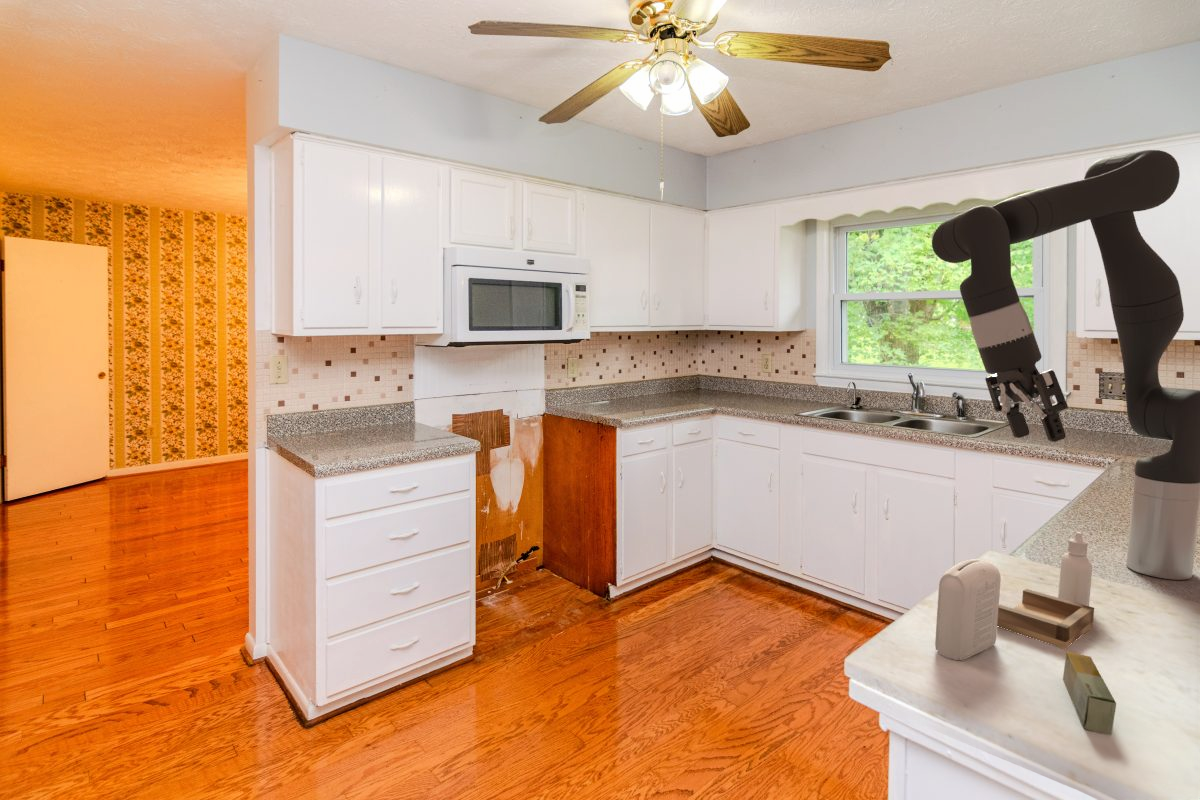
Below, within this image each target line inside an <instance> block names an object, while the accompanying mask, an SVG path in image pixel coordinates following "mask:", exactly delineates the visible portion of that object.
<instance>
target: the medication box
mask: <svg viewBox="0 0 1200 800" xmlns="http://www.w3.org/2000/svg"><path fill="white" fill-rule="evenodd" d="M1064 660H1065V661H1064V667H1063V674H1062V675H1063V676H1062V681H1063V684H1064V686H1065V689H1066V690H1067V693H1068V696H1069V698H1070V700H1071V702H1072V705H1073V707H1074V710H1075V712H1076V714H1077V716H1078V719H1079V722H1080V724H1081V726H1082V728H1083V730H1085V731H1088V732H1093V733H1097V734H1102V735H1107V736H1108V735H1109V736H1112V733H1113V729H1114V728H1113V727H1114V720H1115V713H1116V708H1117V701H1115V698H1114V697H1113V694H1112V693H1111V691H1110V689H1109V688H1108V685H1107V684H1106V682H1105V681H1104V679H1103V676H1102V675H1101V673H1100V671H1099V670H1098V667H1097V666H1096V664H1095V663H1094V661H1093V659H1092V657H1091V656H1090V655H1089V656H1088V655H1084V654H1081V653H1076V652H1071V651H1066V653H1065V659H1064Z"/></svg>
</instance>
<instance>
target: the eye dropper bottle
mask: <svg viewBox="0 0 1200 800" xmlns="http://www.w3.org/2000/svg"><path fill="white" fill-rule="evenodd" d="M1067 547H1068V548H1067V552H1064V553H1063V554H1062V556H1061V561H1060V569H1059V570H1060V571H1059V582H1058V593H1057V594H1058V595H1057V598H1061V599H1064V600H1068V601H1072V602H1075V603H1079V604H1082V605H1086V606H1090V600H1091V599H1090V598H1091V586H1092V576H1093V575H1092V574H1093V573H1092V572H1093V564H1092V562H1091V560H1090V558H1089V557H1088V556H1087V555H1088V547H1089V546H1088V542H1087V541H1086V540H1084V539H1083V533H1082V532H1080V531H1076V532H1075V535H1074V537H1073V538H1070V539H1069V540H1068V545H1067Z"/></svg>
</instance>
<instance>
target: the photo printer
mask: <svg viewBox="0 0 1200 800" xmlns="http://www.w3.org/2000/svg"><path fill="white" fill-rule="evenodd" d="M1001 580H1002V579H1001V572H1000V571H999V569H998V566H996V564H994V562H990V561H986V560H983V559H979V558H972V559H968V560H963V561H961V562H958V563H956V564H955V565H953V566H952V567H950V568H949V569H948V570H947V571H946V572H944V574H943V575H942V576H941V578H940V579H939V583H938V596H937V608H936V609H937V610H936V611H937V612H936V625H935V626H936V627H935V642H934V645H935V650H936V651H937V652H938V653H939V654H940V655H941V656H943V657H945V658H947V659H950V660H955V661H959V660H960V661H961V660H965V659H968V658H971V657H972V656H974V655H977V654H979V653H981V652H983V651H986V650H987V649H990V648H991V647H992V646H994V645H995V644H996V641H997V637H998V636H997V633H998V627H997V621H998V608H999V605H1000V593H1001V592H1000V591H1001Z"/></svg>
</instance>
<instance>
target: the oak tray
mask: <svg viewBox="0 0 1200 800" xmlns="http://www.w3.org/2000/svg"><path fill="white" fill-rule="evenodd" d="M1094 618H1095V607H1093V606H1090V605H1089V606H1086V605H1082V604H1079V603H1075V602H1072V601H1068V600H1064V599H1061V598H1058V596H1055V595H1049V594H1046V593H1043V592H1039V591H1036V590H1032V589H1028V588H1025V589H1023V590H1022V599H1021V603H1020V604H1018V605H1016V606H1015V607H1013V608H1012V607H1009V606H1006V605H1002V604H999V608H998V621H997V626H999V627H1002V628H1005V629H1008V630H1011V631H1013V632H1012V633H1014V632H1016V633H1015V634H1017V633H1019V634H1018V635H1020V634H1022V635H1021V636H1023V635H1024V636H1023V637H1026V636H1028V637H1027V638H1029V637H1031V638H1030V639H1033V638H1034V639H1033V640H1036V639H1037V640H1036V641H1039V640H1040V641H1039V642H1042V641H1043V642H1042V643H1045V642H1046V643H1045V644H1048V643H1049V644H1048V645H1051V644H1052V645H1051V646H1054V645H1055V646H1054V647H1057V646H1058V647H1057V648H1060V647H1061V648H1060V649H1063V648H1064V649H1063V650H1066V649H1068V648H1069V647H1070V646H1071V645H1072V644H1074V643H1075V642H1076V641H1077V640H1079V639H1080V638H1081V637H1082V636H1084V635H1085V634H1086V633H1087V632H1089V631H1090V630H1091V629H1092V628H1093V627H1094ZM999 627H998V628H999ZM1091 627H1092V628H1091ZM1002 628H1001V629H1002ZM1090 628H1091V629H1090ZM1005 629H1004V630H1005ZM1089 629H1090V630H1089ZM1008 630H1007V631H1008ZM1088 630H1089V631H1088ZM1011 631H1010V632H1011ZM1086 631H1087V632H1086ZM1085 632H1086V633H1085ZM1084 633H1085V634H1084ZM1083 634H1084V635H1083ZM1081 635H1082V636H1081ZM1080 636H1081V637H1080ZM1079 637H1080V638H1079ZM1078 638H1079V639H1078ZM1076 639H1077V640H1076ZM1075 640H1076V641H1075ZM1074 641H1075V642H1074ZM1073 642H1074V643H1073ZM1071 643H1072V644H1071ZM1070 644H1071V645H1070ZM1069 645H1070V646H1069ZM1068 646H1069V647H1068Z"/></svg>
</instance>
